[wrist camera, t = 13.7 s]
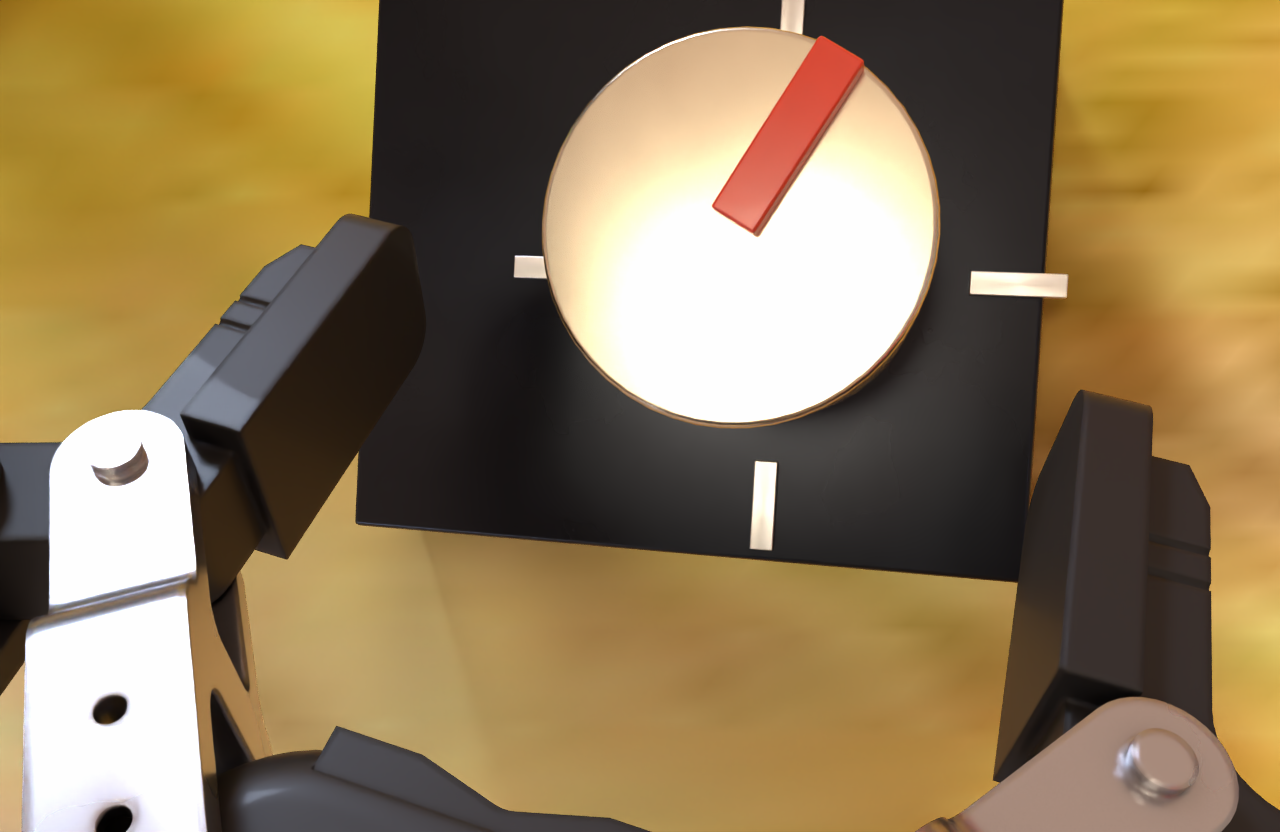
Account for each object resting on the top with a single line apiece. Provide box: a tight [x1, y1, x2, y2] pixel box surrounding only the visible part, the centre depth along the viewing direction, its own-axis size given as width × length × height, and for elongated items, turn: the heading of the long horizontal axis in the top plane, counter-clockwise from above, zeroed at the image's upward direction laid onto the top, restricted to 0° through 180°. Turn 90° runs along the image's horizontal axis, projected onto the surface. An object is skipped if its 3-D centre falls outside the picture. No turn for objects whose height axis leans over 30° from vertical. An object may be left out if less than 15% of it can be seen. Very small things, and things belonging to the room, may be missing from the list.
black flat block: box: [355, 0, 1068, 583], centre depth 19 cm, size 11×9×3 cm
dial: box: [542, 26, 940, 428], centre depth 15 cm, size 4×4×6 cm
